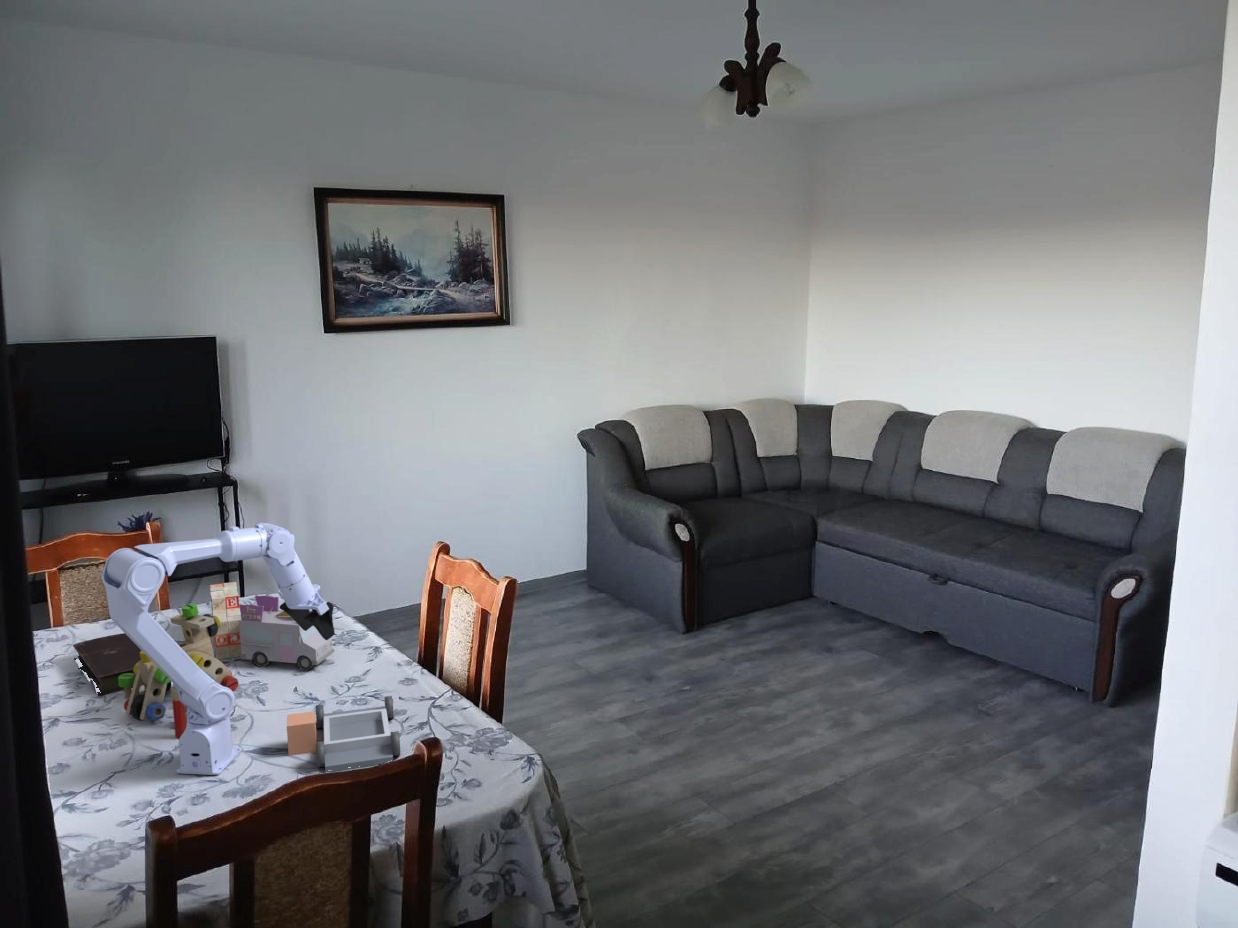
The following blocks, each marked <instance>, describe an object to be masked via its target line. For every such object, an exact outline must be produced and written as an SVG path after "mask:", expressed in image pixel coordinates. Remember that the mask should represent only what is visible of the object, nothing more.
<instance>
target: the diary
mask: <svg viewBox="0 0 1238 928" xmlns="http://www.w3.org/2000/svg"><path fill="white" fill-rule="evenodd" d="M72 647H73V648H74V650H76V652H77V654H78V655H77V657H74V658H73V661H75V660H76V659H77V658H78V659H79V660H80V662H81V663H82V665H83V666H82V667H80V668H79V667H78V668H77V669H78V670H80V669H81V670H83V671H84V672H86V673H87V675H88V677H89V678H92V679H93V681H94V682H95V683H96V685H97V687H96V688H99V690H100V692H101V693H100V692H97V693H98V694H96V696H97V695H98V696H100V697H103V696H107V695H110V694H116V693H119V692H124V687H120V686H119V682H118V677H119V676H120V675H122V674H125V673H132V674H134V672H133V668H134V666H135V665H136V664H137V663H138V662H139V661H141V657H140V651H142V650H141V649H140V648H139V647H138V646H137V645H136V644H135V643H134V642H133V641H132V640H131V639H130V638H129V637H128V636H127V635H126V634H125V633H124V632H123V633H116V634H111V635H107V636H100V637H96V638H93V639H88V640H85V641H80V642H76V643H75V644H72ZM135 677H136V675H135V674H134V679H135ZM131 688H133V685H132V686H131ZM98 696H97V697H98Z"/></svg>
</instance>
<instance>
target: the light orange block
mask: <svg viewBox="0 0 1238 928" xmlns="http://www.w3.org/2000/svg"><path fill="white" fill-rule="evenodd" d="M286 738H287V750H288V756H289V757H290V756H297V755H305V754H311V753H316V742H318V741H317V739H318V738H317V722H316V710H315V711H307V712H299V713H292V714H291V713H290V714H287V715H286Z"/></svg>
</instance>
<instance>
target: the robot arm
mask: <svg viewBox="0 0 1238 928" xmlns="http://www.w3.org/2000/svg"><path fill="white" fill-rule="evenodd" d="M295 538H296V537H295V535H294V534H293V533H291V532H290V531H289V530H288V529H287V528H285V527H281V526H279V525H276V524H274V523H273V524H272V523H268V522H265V523H264V522H259V523H258V524H255V526H254V527H253V526H252V527H246V528H244V527H243V528H240V527H239V526H235V525H233V526H228V530H222V531H220V532H219V533H218V535H217V536H215V538H209V539H208V538H207V539H197V540H185V541H184V540H183V541H181V540H180V541H171V542H169V541H168V542H159V543H147V544H146V543H145V544H138V545H136V546H134V548H135V549H134V548H129V547H123V548H119V549H116V550H115V551H113V552H111V554H110V555H109V556H108V557H107V559H106V560H105V564H104V567H103V570H102V573H101V576H100V578H101V581H102V583H103V585H104V587H105V593H106V600H107V607H108V613H109V617H110V619H111V621H112V622H114V623H115V624H116V626H117V627H118V628H119V629H120V630H121V631H122V632H123V633H125V634H126V635H127V636H128V637H129V638H130V639H131V640H132V641H133V642H134V643H135V644H136V645H137V646H138V647H139V648H140V649H141V650H142V651H143V652H144V653H145V654H146V655H147V656H148V657H149V658H150V660H151V661H152V662H153V663H154V664H155V665H156V666H157V667H158V668H159V669H160V670H161V671H162V672H163V673H164V674H165V675H166V676H167V677H168V678H169V679H170V680H171V683H172V687H173V686H174V687H175V688H176V689H177V691H178V693H179V699H180V701H181V703H182V704H183V705H185V706H187V726H186V729H185V731H184V733H183V734H182V735H181V737H180V738H178V739H179V740H178V750H179V759H180V766H179V767H178V769H176V773H177V774H183V775H184V774H187V775H204V776H205V775H207V776H208V775H209V776H212V775H213V776H219V775H220V774H221V773H222V772H223V771H224V770H225V769H226V768H227V766H229V765H230V763H231V762H232V761H234V760H235V758H236V757H237V756H238V755H239V754H240V753H241V752H242V751H243V748H242V747H241V746H233V740H232V739H233V738H232V727H231V712H232V711H233V709H234V708H235V705H236V703H235V702H236V695H235V694H234V691H232V690H231V689H229V688H227V687H224V686H222V685H220V684H218V683H217V682H215V681H214V680H213V679H212V678H211V677H210V676H208V675H207V674H206V673H205V672H203V671H202V670H201V669H200V668H199V667H198V666H197V665H196V663H195V662H194V661H193V660H192V659H191V658H190V657H189V656H188V655H187V654H186V653H185V652H184V651H183V650H182V648H181V647H180V646H179V645H178V644H179V643H177V642H176V641H175V640H174V639H173V637H171V636H170V634H169V633H168V632H167V631H166V630H165V629H164V628H163V627H162V626H161V625H160V624H159V623H158V621H156V620H155V618H154V617H153V616H152V615H151V614H150V613H149V611H148V610H149V608H150V605H151V603H152V601H153V600H154V598H155V596H156V595H157V593H158V591H159V590H160V588H161V586H162V585H163V583H164V580H165V576H167V577H170V576H172V574H173V573H174V571H175V570H176V567H177V566H178V565H180V564H185V563H186V564H187V563H191V562H196V561H202V560H208V559H212V558H219V559H221V561H223V562H225V563H230V562H236V561H237V562H238V561H245V560H251V559H256V558H257V559H258V558H262V557H263V560H264V561H265V564H266V566H267V568H268V570H269V572H270V574H271V576H272V577H273V579H274V581H275V583H276V585H277V587H278V589H279V590H277V594H278V595H279V596H280V597H279V598H280V599H281V600H283V601H284V602H282V603H281V605H280V604H279V609H280V610H282V611H285V612H286V613H287V614H289V615H290V616H291V617H292V618H293V619H294V620H295V621H296V622H297V623H298V625H299V626H300V627H301V628H302V629H303V630H304V631H307V630H308V629H309V628H311V627H312V626H314V627H315V628H316V629H317V630H318V632H319V633H320V635H321V636H322V637H323V638H324V639H325V640H328V639H330V638H331V637H334V635H335V627H334V621H333V612H334V607H335V606H334V604H333V603H332V602H330V601H327V602H326V601H325V600H323V599H322V597H321V596H320V594H319V592H318V591H320V589H321V586H320V584H317V583H313V584H312V581H311V579H310V577H309V575H308V573H307V572H306V569H305V567H304V565H303V563H302V562H301V559H300V557H299V556H298V554H297V552H296V550H295V542H296V541H295ZM137 550H138V551H137ZM310 610H311V611H312V612H311V613H310Z"/></svg>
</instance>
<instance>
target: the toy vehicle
mask: <svg viewBox="0 0 1238 928" xmlns="http://www.w3.org/2000/svg"><path fill="white" fill-rule="evenodd" d="M254 598H255V602H256V604H243V603H242V604H241V603H239V608H240V613H241V620H239V627H240V640H241V652H242V654H240V656H239V658H240V659H243V660H244V659H245V660H246V659H247V660H250V661H251V664H252V665H254V664H255V665H256V666H258V667H265V666H267V665H268V664H269V663H270V662H280V663H289V664H290V663H291V664H297V665H298V668H299V669H300V670H302V671H306V672H307V671H310V670H311V669H312V668H313V667H314V666H319V664H320V663H322V662H323V661H325V660H326V659H327V658H328V657H329V656H331V655H332V654H333V653H335V648H334V647H333V638H332V637H333V636H332V637H331V638H330V639H328V640H325V639H324V638H323V637H322V636H321V635H320V633H319V632H318V630H317V629H316V628H315V627H314V626H312V627H311V628H309V629H308V630H307V631H304V630H303V629H302V628H301V627H300V626H299V625H298V623H297V622H296V621H295V620H294V619H293V618H292V617H291V616H290V615H289V614H287V613H286V612H285V611H283V610H282V611H279V609H280V603H279V598H280V597H279V596H272V595H257V594H256V595H254ZM309 611H310V610H309ZM311 612H312V610H311V611H310V613H311Z"/></svg>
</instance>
